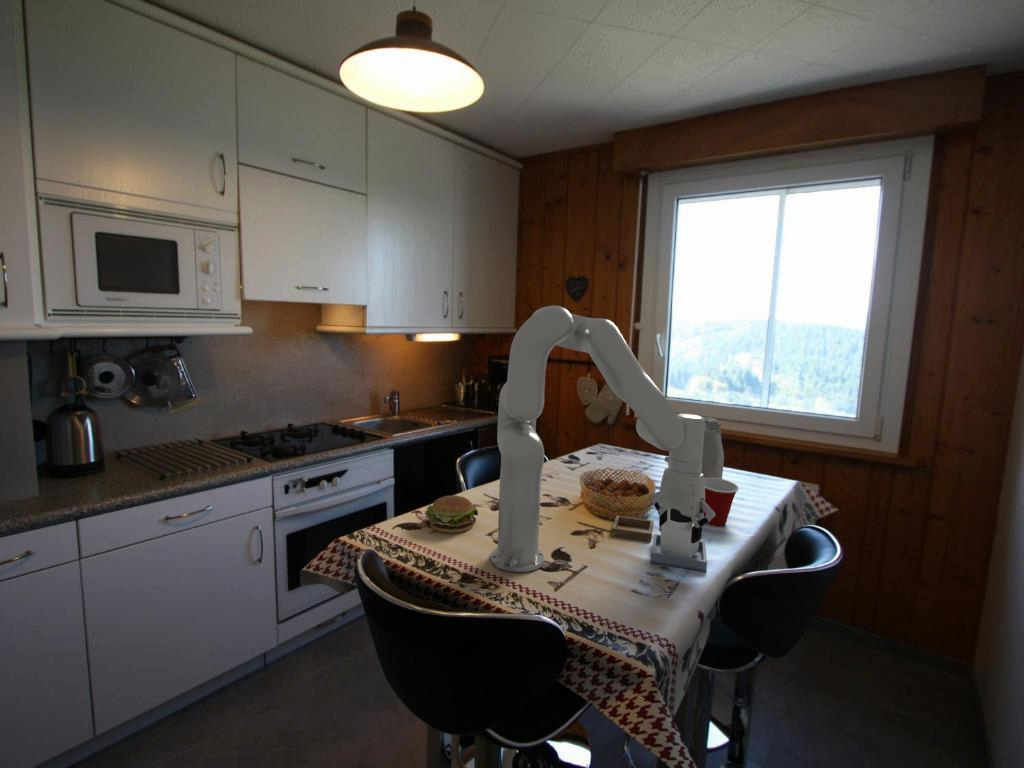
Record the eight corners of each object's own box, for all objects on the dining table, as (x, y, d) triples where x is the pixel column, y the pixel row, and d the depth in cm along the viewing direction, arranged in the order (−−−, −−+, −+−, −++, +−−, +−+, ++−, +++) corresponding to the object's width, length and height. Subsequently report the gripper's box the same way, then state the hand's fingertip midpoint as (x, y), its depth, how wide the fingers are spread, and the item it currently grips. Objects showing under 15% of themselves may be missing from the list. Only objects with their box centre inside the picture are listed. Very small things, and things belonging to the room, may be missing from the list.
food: (414, 525, 143) (414, 497, 142) (455, 513, 153) (455, 486, 152) (446, 541, 133) (446, 511, 132) (487, 527, 143) (487, 499, 142)
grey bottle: (726, 507, 166) (733, 419, 163) (700, 510, 163) (707, 421, 159) (704, 497, 176) (710, 414, 172) (679, 499, 172) (685, 415, 169)
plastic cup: (711, 531, 145) (714, 489, 144) (687, 517, 156) (691, 478, 154) (744, 528, 148) (747, 487, 147) (718, 515, 159) (722, 476, 157)
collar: (650, 541, 137) (651, 534, 137) (611, 535, 140) (611, 528, 140) (653, 527, 147) (653, 520, 147) (616, 522, 150) (616, 515, 150)
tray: (706, 572, 121) (707, 562, 121) (650, 563, 125) (651, 553, 124) (704, 550, 133) (705, 541, 132) (653, 543, 136) (654, 533, 136)
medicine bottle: (699, 549, 129) (700, 503, 128) (689, 561, 124) (690, 512, 122) (670, 542, 134) (671, 497, 132) (660, 553, 128) (660, 506, 126)
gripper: (644, 460, 130) (639, 528, 132) (711, 477, 117) (705, 552, 119) (661, 455, 135) (656, 521, 137) (727, 471, 122) (720, 544, 124)
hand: (679, 535), depth 128 cm, fingers closed on medicine bottle, 7 cm apart
